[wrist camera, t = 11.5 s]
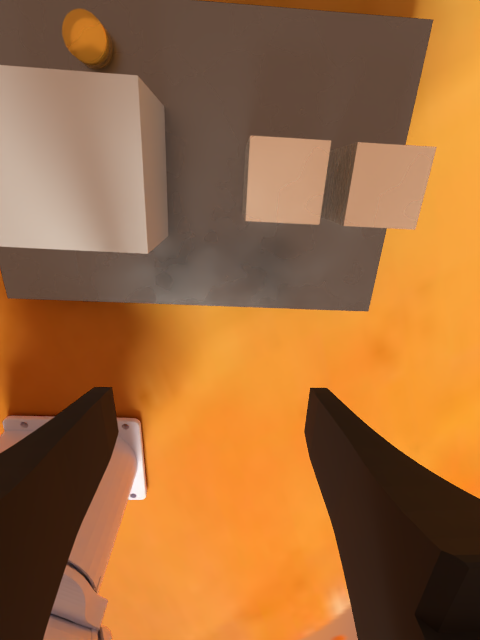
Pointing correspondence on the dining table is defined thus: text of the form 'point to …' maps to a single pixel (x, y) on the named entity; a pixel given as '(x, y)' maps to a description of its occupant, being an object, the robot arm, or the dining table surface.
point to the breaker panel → (243, 148)
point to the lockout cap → (81, 161)
